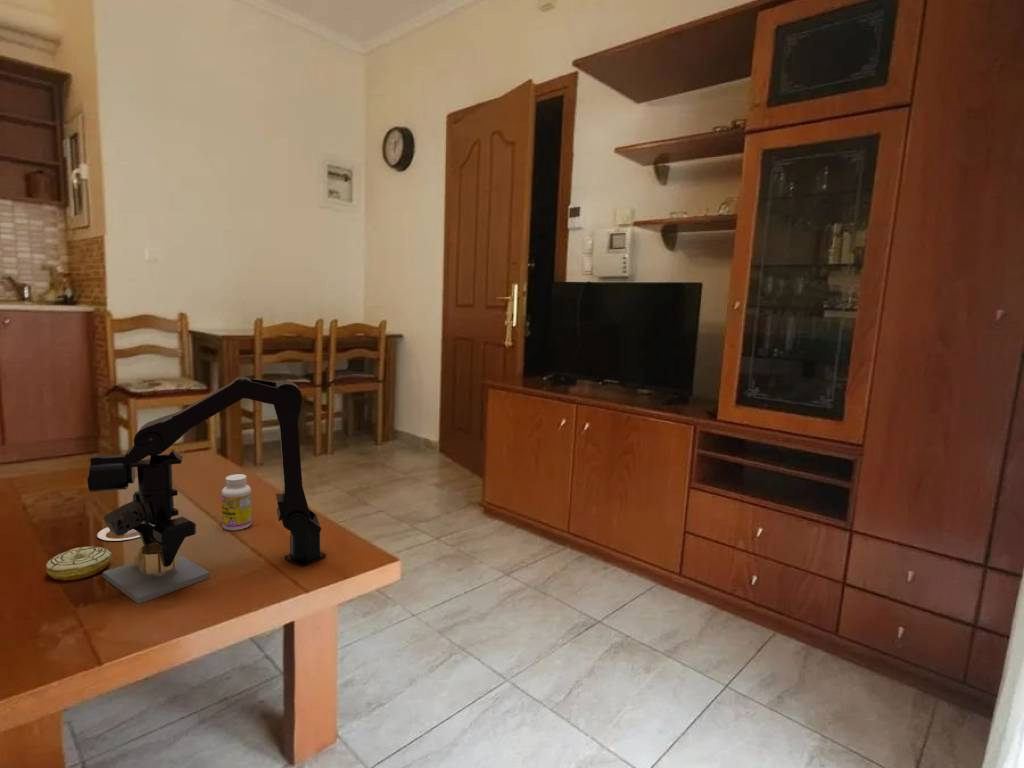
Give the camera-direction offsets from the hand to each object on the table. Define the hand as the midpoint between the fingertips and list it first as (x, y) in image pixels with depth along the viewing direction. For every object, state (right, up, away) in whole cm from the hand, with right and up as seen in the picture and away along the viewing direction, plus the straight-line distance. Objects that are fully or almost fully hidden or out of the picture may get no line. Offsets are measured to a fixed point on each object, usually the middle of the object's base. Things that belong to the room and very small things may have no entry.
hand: (159, 561), depth 111 cm
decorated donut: (-18, -3, +3) cm, 19 cm away
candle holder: (-22, -1, +23) cm, 31 cm away
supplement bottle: (+1, 0, +28) cm, 28 cm away
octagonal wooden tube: (0, -1, 0) cm, 1 cm away
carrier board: (-1, -4, +1) cm, 4 cm away
